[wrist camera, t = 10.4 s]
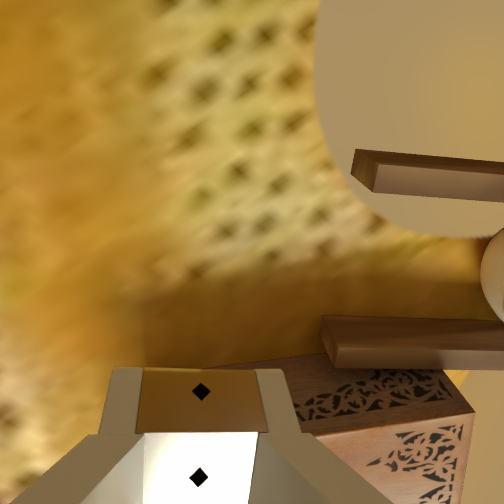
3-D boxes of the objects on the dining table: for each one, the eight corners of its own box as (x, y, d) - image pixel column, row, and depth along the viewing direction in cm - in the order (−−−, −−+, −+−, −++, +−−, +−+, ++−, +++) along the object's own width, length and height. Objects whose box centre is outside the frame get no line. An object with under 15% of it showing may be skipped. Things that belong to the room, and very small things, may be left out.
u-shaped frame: (355, 148, 37) (378, 164, 33) (621, 173, 41) (675, 190, 37) (319, 333, 44) (334, 367, 39) (551, 339, 48) (589, 371, 43)
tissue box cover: (168, 485, 50) (164, 585, 41) (147, 373, 44) (137, 461, 35) (407, 449, 52) (454, 536, 43) (418, 338, 46) (475, 412, 37)
